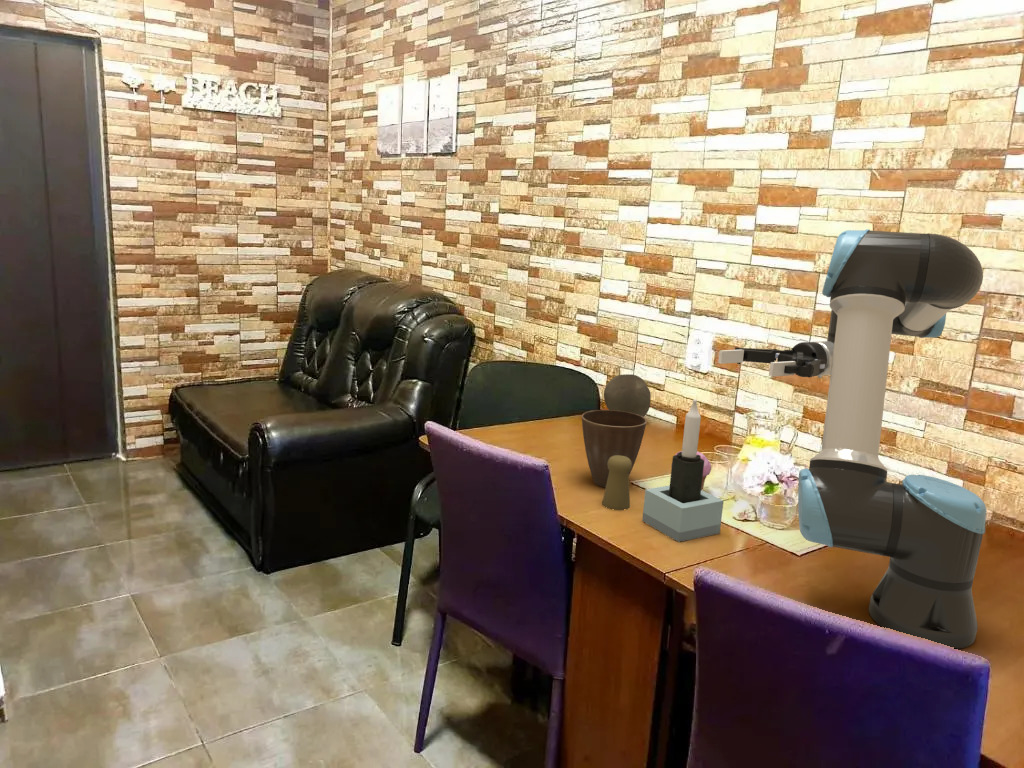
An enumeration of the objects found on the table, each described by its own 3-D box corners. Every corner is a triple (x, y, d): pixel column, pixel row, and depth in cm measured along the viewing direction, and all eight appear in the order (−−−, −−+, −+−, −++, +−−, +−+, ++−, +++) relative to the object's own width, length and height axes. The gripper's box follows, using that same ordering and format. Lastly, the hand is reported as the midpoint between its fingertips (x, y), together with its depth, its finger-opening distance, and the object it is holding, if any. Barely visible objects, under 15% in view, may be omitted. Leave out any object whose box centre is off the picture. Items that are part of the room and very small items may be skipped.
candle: (664, 514, 153) (676, 396, 147) (683, 511, 155) (696, 395, 150) (679, 524, 148) (693, 402, 143) (699, 521, 151) (714, 401, 145)
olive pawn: (629, 511, 159) (633, 462, 156) (600, 508, 160) (605, 459, 158) (630, 501, 165) (635, 454, 162) (603, 498, 166) (607, 451, 163)
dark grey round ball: (623, 413, 241) (627, 368, 238) (657, 424, 231) (662, 377, 227) (593, 419, 232) (596, 372, 229) (627, 430, 222) (631, 381, 218)
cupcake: (691, 502, 167) (696, 459, 164) (661, 490, 173) (665, 449, 171) (715, 494, 172) (720, 453, 170) (684, 483, 179) (689, 443, 177)
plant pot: (591, 496, 167) (596, 427, 163) (567, 473, 181) (572, 410, 177) (651, 492, 171) (658, 425, 168) (624, 471, 185) (629, 408, 181)
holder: (719, 533, 150) (723, 500, 149) (678, 542, 145) (682, 508, 143) (682, 513, 160) (685, 482, 158) (642, 521, 154) (645, 489, 153)
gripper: (862, 388, 152) (792, 394, 141) (766, 365, 173) (699, 369, 163) (868, 352, 151) (797, 355, 140) (770, 333, 172) (702, 335, 161)
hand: (744, 363), depth 151 cm, fingers open, 13 cm apart
